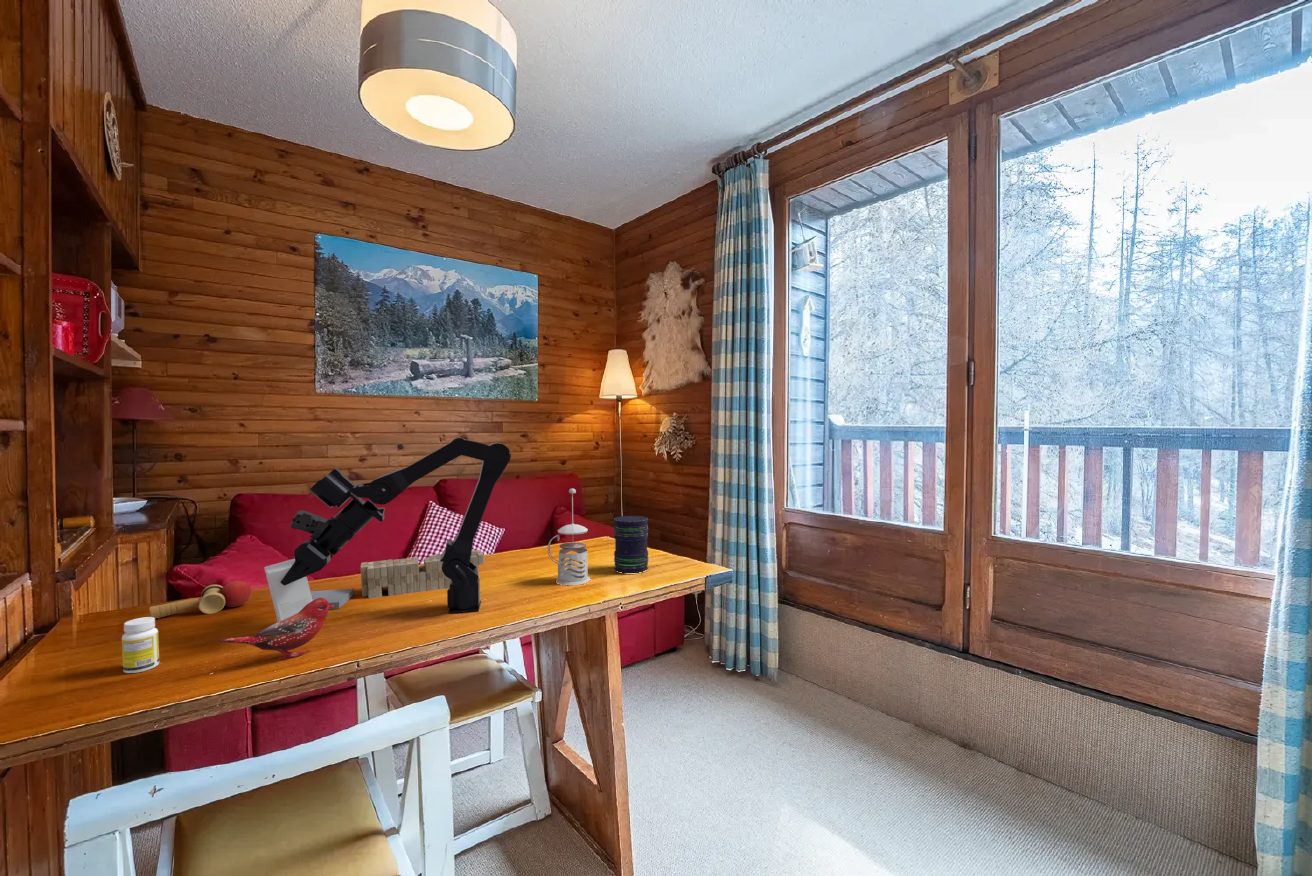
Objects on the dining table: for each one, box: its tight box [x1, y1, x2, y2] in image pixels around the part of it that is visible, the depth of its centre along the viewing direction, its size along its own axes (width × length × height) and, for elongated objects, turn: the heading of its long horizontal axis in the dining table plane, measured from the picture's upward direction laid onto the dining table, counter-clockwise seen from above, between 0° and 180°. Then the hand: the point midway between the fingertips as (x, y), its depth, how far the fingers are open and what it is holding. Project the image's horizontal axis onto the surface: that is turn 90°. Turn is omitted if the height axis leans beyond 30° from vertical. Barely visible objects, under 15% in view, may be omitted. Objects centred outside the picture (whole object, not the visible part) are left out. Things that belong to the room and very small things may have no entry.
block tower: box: [360, 549, 485, 599], centre depth 146 cm, size 8×8×29 cm
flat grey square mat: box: [310, 588, 355, 610], centre depth 133 cm, size 11×11×2 cm
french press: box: [547, 488, 592, 586], centre depth 151 cm, size 10×12×25 cm
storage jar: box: [613, 515, 649, 573], centre depth 161 cm, size 10×10×15 cm
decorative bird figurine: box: [218, 598, 334, 661], centre depth 101 cm, size 3×18×10 cm, turn 134°
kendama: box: [148, 580, 252, 620], centre depth 128 cm, size 8×6×18 cm
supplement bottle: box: [121, 616, 160, 674], centre depth 98 cm, size 5×5×8 cm
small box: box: [263, 558, 313, 622], centre depth 117 cm, size 8×6×13 cm
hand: (288, 578), depth 117 cm, fingers closed on small box, 9 cm apart
